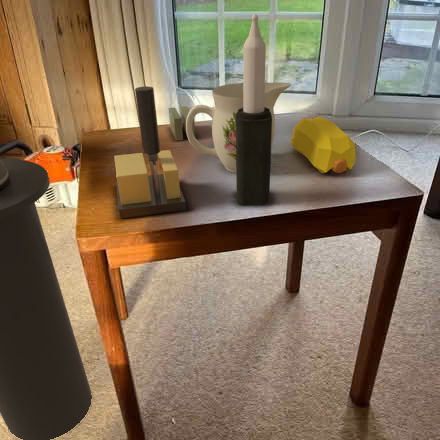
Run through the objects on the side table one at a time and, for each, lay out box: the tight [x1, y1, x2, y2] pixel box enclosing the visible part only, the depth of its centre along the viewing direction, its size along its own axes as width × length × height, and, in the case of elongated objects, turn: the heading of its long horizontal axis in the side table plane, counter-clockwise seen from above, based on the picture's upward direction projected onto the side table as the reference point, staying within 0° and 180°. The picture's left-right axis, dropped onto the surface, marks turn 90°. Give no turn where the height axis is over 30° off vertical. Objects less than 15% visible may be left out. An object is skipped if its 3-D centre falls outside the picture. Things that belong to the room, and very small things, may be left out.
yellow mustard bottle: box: [290, 116, 356, 174], centre depth 82 cm, size 18×7×8 cm
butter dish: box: [114, 149, 187, 220], centre depth 71 cm, size 12×10×6 cm
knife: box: [134, 85, 161, 196], centre depth 68 cm, size 6×3×15 cm, turn 13°
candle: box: [235, 14, 272, 206], centre depth 64 cm, size 5×5×25 cm
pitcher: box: [186, 82, 292, 174], centre depth 79 cm, size 11×18×14 cm, turn 93°
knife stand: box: [168, 106, 196, 141], centre depth 99 cm, size 9×4×4 cm, turn 13°
